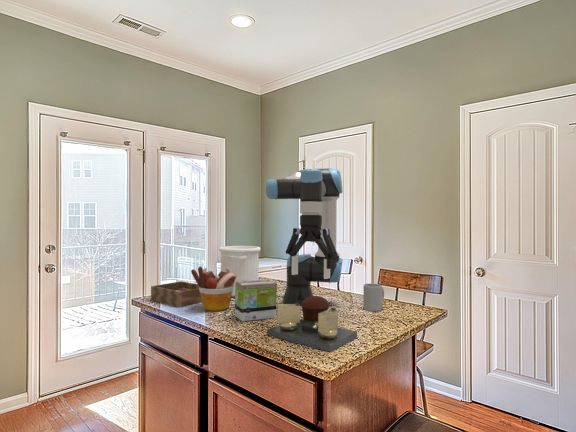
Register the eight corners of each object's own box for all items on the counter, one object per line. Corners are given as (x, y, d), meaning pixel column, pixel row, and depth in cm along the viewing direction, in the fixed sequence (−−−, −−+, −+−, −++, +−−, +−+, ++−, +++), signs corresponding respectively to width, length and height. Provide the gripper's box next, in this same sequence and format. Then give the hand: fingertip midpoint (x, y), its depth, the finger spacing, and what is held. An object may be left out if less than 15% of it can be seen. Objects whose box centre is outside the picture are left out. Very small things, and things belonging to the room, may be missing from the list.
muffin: (308, 327, 141) (308, 300, 141) (295, 319, 152) (296, 295, 152) (335, 323, 146) (335, 298, 146) (321, 316, 156) (321, 292, 156)
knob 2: (329, 340, 119) (330, 313, 119) (314, 336, 123) (314, 310, 123) (342, 334, 126) (342, 309, 126) (326, 331, 129) (327, 306, 129)
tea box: (242, 322, 147) (243, 285, 147) (234, 316, 156) (234, 281, 156) (277, 318, 154) (277, 282, 154) (267, 312, 163) (267, 278, 163)
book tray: (150, 300, 184) (151, 286, 184) (181, 294, 198) (181, 281, 198) (179, 307, 170) (179, 292, 170) (210, 300, 184) (210, 286, 184)
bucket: (258, 299, 188) (258, 249, 188) (214, 298, 188) (214, 249, 188) (262, 289, 214) (262, 245, 214) (223, 288, 214) (223, 245, 214)
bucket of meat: (220, 301, 182) (221, 261, 182) (243, 307, 171) (243, 264, 171) (185, 309, 167) (185, 265, 167) (207, 316, 156) (208, 268, 156)
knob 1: (277, 330, 130) (277, 305, 130) (276, 325, 136) (276, 301, 136) (300, 329, 130) (300, 305, 130) (298, 324, 136) (298, 301, 136)
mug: (374, 312, 164) (374, 287, 164) (359, 308, 170) (359, 284, 170) (390, 308, 171) (391, 284, 171) (375, 304, 178) (376, 281, 178)
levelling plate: (266, 335, 131) (266, 323, 131) (296, 323, 146) (296, 312, 146) (330, 351, 116) (330, 338, 116) (356, 337, 130) (357, 325, 130)
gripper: (348, 214, 123) (347, 279, 122) (289, 214, 139) (289, 271, 138) (336, 214, 117) (335, 281, 117) (276, 214, 133) (275, 273, 132)
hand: (310, 276), depth 127 cm, fingers open, 13 cm apart
